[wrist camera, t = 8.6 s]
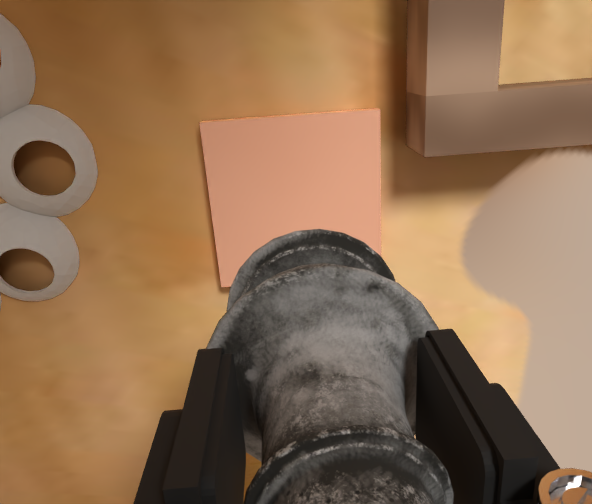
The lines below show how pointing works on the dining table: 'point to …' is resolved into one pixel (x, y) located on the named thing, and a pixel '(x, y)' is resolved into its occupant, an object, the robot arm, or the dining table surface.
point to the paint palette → (21, 201)
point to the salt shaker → (329, 375)
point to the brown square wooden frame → (481, 87)
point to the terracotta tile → (291, 179)
